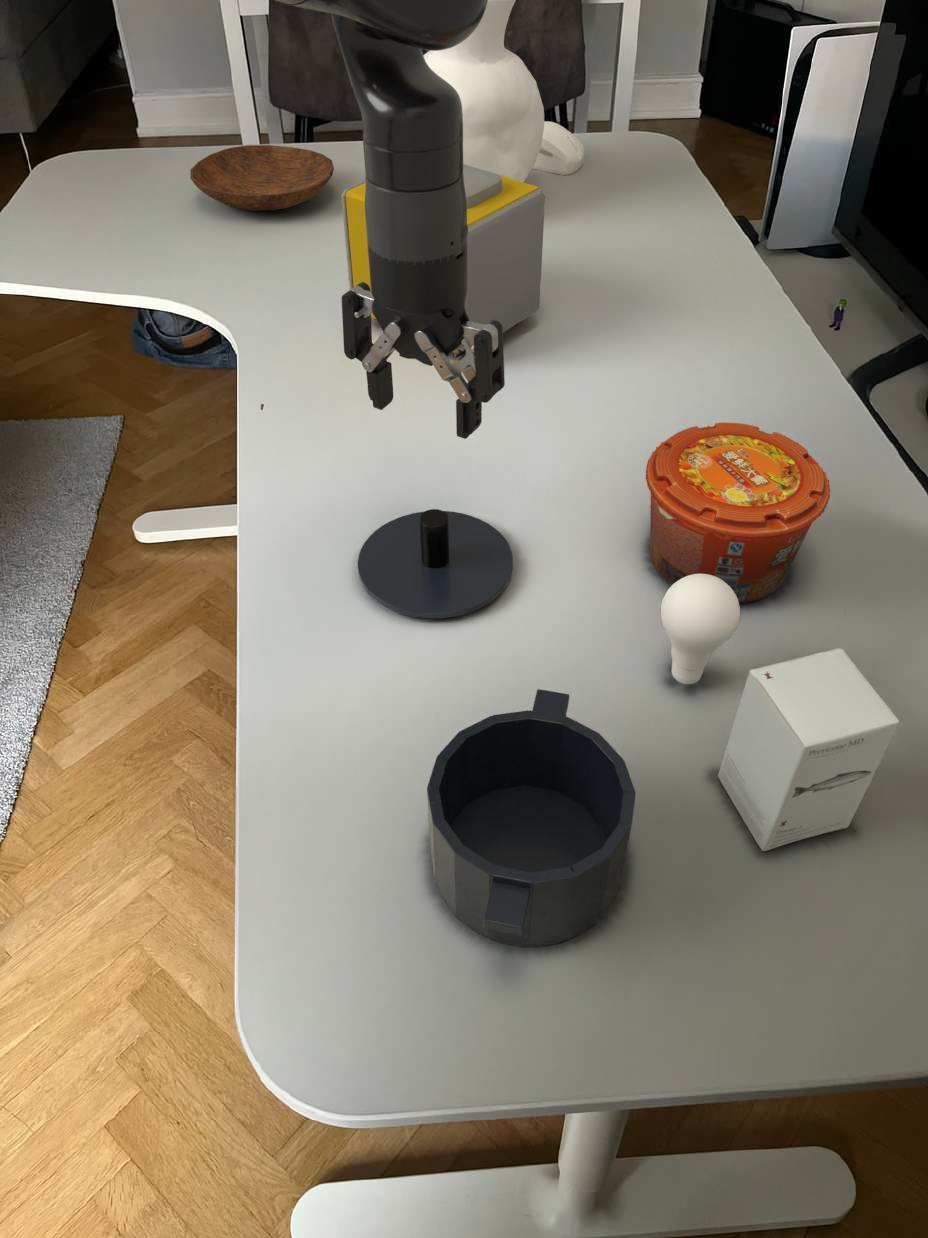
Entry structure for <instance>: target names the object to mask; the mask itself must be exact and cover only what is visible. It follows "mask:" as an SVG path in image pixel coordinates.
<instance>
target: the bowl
mask: <svg viewBox="0 0 928 1238" xmlns="http://www.w3.org/2000/svg"><path fill="white" fill-rule="evenodd" d="M334 171H335V167H334V163H333V159H331V158H329V156H328V157H327V155H324V154H323V153H319V152H316V151H313V150H311V149H305V148H299V147H292V146H281V145H270V144H265V145H264V144H262V145H261V144H259V145H257V144H256V145H240V146H234V147H229V148H225V149H221V150H219V151H215V152H214V153H210V154H209V155H207V156H205V157H204V158H202V159H200V160H199V161H197V162H196V163H195V164H194V165H193V166H192V167H191V169H190V173H189V178H190V180H191V181H192V183H193V184H194V185H195V186H196V187H197V189H198V190H200V191H201V192H202V193H203V194H204V195H206V196H208V197H209V198H211V199H213V200H215V201H217V202H218V203H221V204H224V205H227V206H229V207H231V208H234V209H240V210H249V211H253V212H254V211H255V212H258V211H259V212H260V211H274V210H276V211H277V210H283V209H284V210H285V209H288V208H289V209H290V208H292V207H295V206H297V205H299V204H302V203H304V202H307V201H310V200H312V199H314V198H315V197H316V196H317V195H319V194H320V193H321V191H322V190H323V189H324V188H325V186H327V184H328V182H329V181H330V180H331V178H332V177H333V175H334Z"/></svg>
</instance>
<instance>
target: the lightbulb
mask: <svg viewBox="0 0 928 1238" xmlns="http://www.w3.org/2000/svg"><path fill="white" fill-rule="evenodd" d="M740 617H741V608H740V603H739V602H738V599H737V596H736V594H735V593H734V591H733V590H732V589H731V587H730V586H729V585H728V584H726V583H725V582H724V581H723V580H721V579H720V578H718V577H715V576H712V575H708V574H693V575H689V576H686V577H684V578H681V579H680V580H678V581H677V582H675V583H674V584H673V585H672V586H671V585H670V587H669V588H668V589H667V591H666V592H665V594H664V596H663V599H662V602H661V606H660V620H661V624H662V626H663V629H664V631H665V633H666V635H667V637H668V638H669V639H670V643H671V651H670V655H671V660H672V662H671V676H672V677H673V678H674V679H675V680H676V682H678V683H680V684H683V685H692V684H696V683H698V682H699V681H700V680H701V678H702V675H703V673H704V671H705V667H706V666H707V665H708V664H709V662H710V659H711V657H712V654H713V653H714V652H715V651H716V650H717V649H718V648H720V647H721V646H722V645H724V644H725V643H726V642H727V641H729V640H730V639H731V637H732V636H733V635H734V633H735V632H736V630H737V628H738V626H739V624H740V619H741V618H740Z"/></svg>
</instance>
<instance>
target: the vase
mask: <svg viewBox="0 0 928 1238" xmlns="http://www.w3.org/2000/svg"><path fill="white" fill-rule="evenodd" d="M516 1H517V0H488V1H487V6H486V9H485V12H484V15H483V17H482V19H481V21H480V23H479V24H478V26H477V27H476V29H475V30H474V31H473V33H472V34H471V35H470V36H469V37H468V38H466V39H465V40H464V41H463V42H461V43H459V44H458V45H456V46H454V47H452V48H449V49H445V50H440V51H430V50H428V51H427V52H426V53H424V54H423V56H424V59H425V61H426V63H427V64H428V66H429V67H430V69H431V70H432V71H434V72H435V73H436V74H437V75H438V76H440V77H441V78H442V79H444V80H445V81H446V82H448V83H449V84H450V85H451V86H452V87H453V88H454V89H455V90H456V91H457V93H458V94H459V97H460V100H461V104H462V112H463V164H465V165H468V166H472V167H475V168H478V169H481V170H485V171H488V172H491V173H495V174H498V175H501V176H504V177H508V178H511V179H514V180H517V181H521V182H524V183H525V181H526V179H527V178H528V176H529V175H530V171H531V170H533V166H534V164H535V161H536V158H537V155H538V153H539V151H540V148H541V144H542V136H543V131H544V121H545V109H544V108H545V107H544V104H543V101H542V98H541V93H540V91H539V87H538V83H537V81H536V79H535V78H534V76H533V75H532V73H531V72H530V70H529V69H528V67H527V65H525V62H524V61H523V60H522V59H521V57H519V55H517V54H516V53H514V52H512V51H511V50H509V49H507V48H506V47H505V33H506V28H507V25H508V21H509V19H510V16H511V13H512V9H513V7H514V5H515V3H516Z"/></svg>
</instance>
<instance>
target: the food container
mask: <svg viewBox="0 0 928 1238" xmlns="http://www.w3.org/2000/svg"><path fill="white" fill-rule="evenodd" d="M645 482H646V485H647V488H648V490H649V492H650V507H649V508H650V513H649V514H650V517H649V519H650V523H649V524H650V526H649V529H650V530H649V531H650V532H649V554H650V559H651V562H652V564H653V566H654V568H655V570H656V571H657V573H658V574H659V576H660V577H661V578H662V579H663V580H665V582H667V583H668V584H669V585H670V587H671V586H672V585H673V584H674V583H675V582H677V581H678V580H680V579H681V578H684V577H686V576H689V575H693V574H708V575H712V576H715V577H718V578H720V579H721V580H723V581H724V582H725V583H726V584H728V585H729V586H730V587H731V589H732V590H733V591H734V593H735V594H736V596H737V599H738V602H739V604H745V603H746V604H747V603H752V602H756V601H759V600H762V599H763V598H765V597H768V596H769V595H771V594H772V593H774V592H775V591H776V590H778V588H779V587H780V586H781V585H782V583H783V582H784V580H785V578H786V576H787V574H788V573H789V570H790V568H791V566H792V565H793V562H794V560H795V559H796V556H797V554H798V552H799V550H800V548H801V546H802V544H803V542H804V540H805V538H806V536H807V534H808V532H809V530H810V529H811V526H812V524H813V523H814V521H816V520H817V519H818V518H819V517H820V516H822V514H824V512H825V510H826V508H827V507H828V504H829V500H830V497H831V487H830V486H831V485H830V479H828V476H827V473H826V472H825V471H824V469H823V468H822V466H821V465H820V463H819V462H817V461H816V460H815V458H814V457H813V456H812V455H810V453H809V452H808V450H807V449H806V447H805V446H803V445H801V444H800V443H799V442H798V441H795V440H794V439H792V438H790V437H788V436H786V435H784V434H782V433H779V432H776V431H773V432H772V433H768V432H765V430H760V427H758V426H757V425H752V424H746V423H741V422H716V423H715V424H714V425H711V426H710V425H707V426H702V427H699V426H698V425H695V426H691V427H687V428H686V429H683V430H681V431H678V432H677V433H675V434H673V435H671V436H670V437H669V438H667V439H666V440H664V441H662V442H661V443H660V444H659V445H658V446H656V447H655V449H654V451H652V453H651V455H650V456H649V458H648V460H647V463H646V469H645Z"/></svg>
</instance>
